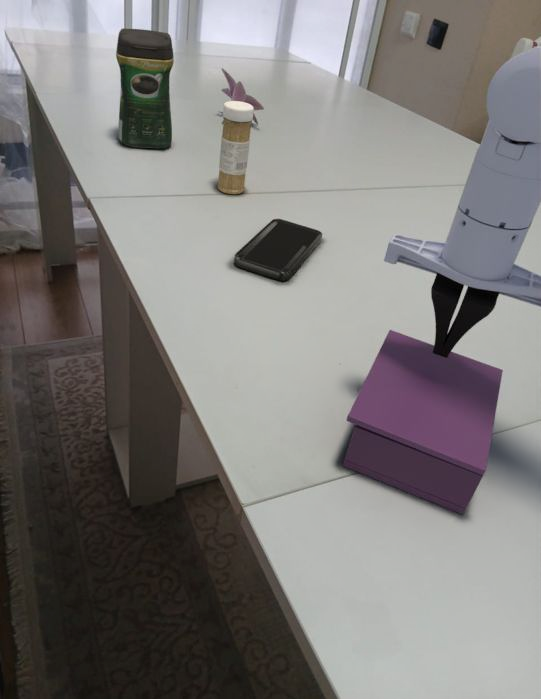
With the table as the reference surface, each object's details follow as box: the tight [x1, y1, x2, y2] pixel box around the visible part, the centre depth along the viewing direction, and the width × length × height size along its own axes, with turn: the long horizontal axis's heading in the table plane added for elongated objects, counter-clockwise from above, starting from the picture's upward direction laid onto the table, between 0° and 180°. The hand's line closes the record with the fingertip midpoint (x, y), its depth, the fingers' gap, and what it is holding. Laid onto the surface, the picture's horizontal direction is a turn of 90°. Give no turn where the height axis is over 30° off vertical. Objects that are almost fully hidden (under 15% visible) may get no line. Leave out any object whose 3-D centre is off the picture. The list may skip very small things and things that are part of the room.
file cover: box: [346, 329, 504, 476], centre depth 53 cm, size 11×15×1 cm
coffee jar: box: [115, 27, 175, 149], centre depth 104 cm, size 10×8×19 cm
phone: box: [233, 218, 323, 282], centre depth 82 cm, size 8×1×15 cm
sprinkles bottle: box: [217, 100, 255, 195], centre depth 93 cm, size 5×5×13 cm
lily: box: [221, 67, 265, 126], centre depth 124 cm, size 12×12×10 cm
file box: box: [342, 424, 484, 515], centre depth 55 cm, size 11×15×5 cm
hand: (441, 350), depth 55 cm, fingers closed
